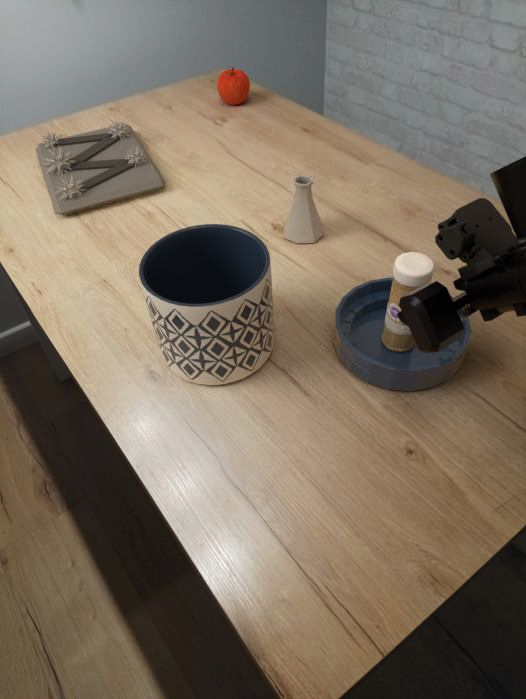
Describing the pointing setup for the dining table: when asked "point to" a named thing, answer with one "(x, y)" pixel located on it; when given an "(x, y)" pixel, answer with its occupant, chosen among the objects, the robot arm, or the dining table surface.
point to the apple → (233, 86)
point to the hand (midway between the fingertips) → (428, 300)
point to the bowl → (372, 355)
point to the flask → (303, 214)
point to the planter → (210, 302)
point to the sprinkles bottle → (406, 278)
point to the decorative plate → (96, 168)
